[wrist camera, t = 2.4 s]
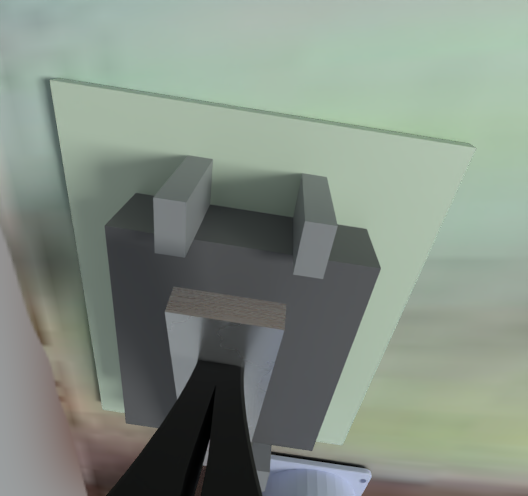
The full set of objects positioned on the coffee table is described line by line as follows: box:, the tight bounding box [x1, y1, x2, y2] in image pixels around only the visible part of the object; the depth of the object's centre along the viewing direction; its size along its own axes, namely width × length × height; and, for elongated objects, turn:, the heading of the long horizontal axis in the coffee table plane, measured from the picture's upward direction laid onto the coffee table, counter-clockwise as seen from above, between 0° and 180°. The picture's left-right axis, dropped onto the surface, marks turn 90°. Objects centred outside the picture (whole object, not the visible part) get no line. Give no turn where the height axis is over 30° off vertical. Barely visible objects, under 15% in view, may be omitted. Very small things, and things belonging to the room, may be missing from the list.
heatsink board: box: [50, 78, 477, 492], centre depth 17 cm, size 20×16×5 cm
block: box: [165, 287, 286, 466], centre depth 14 cm, size 14×3×1 cm, turn 172°
